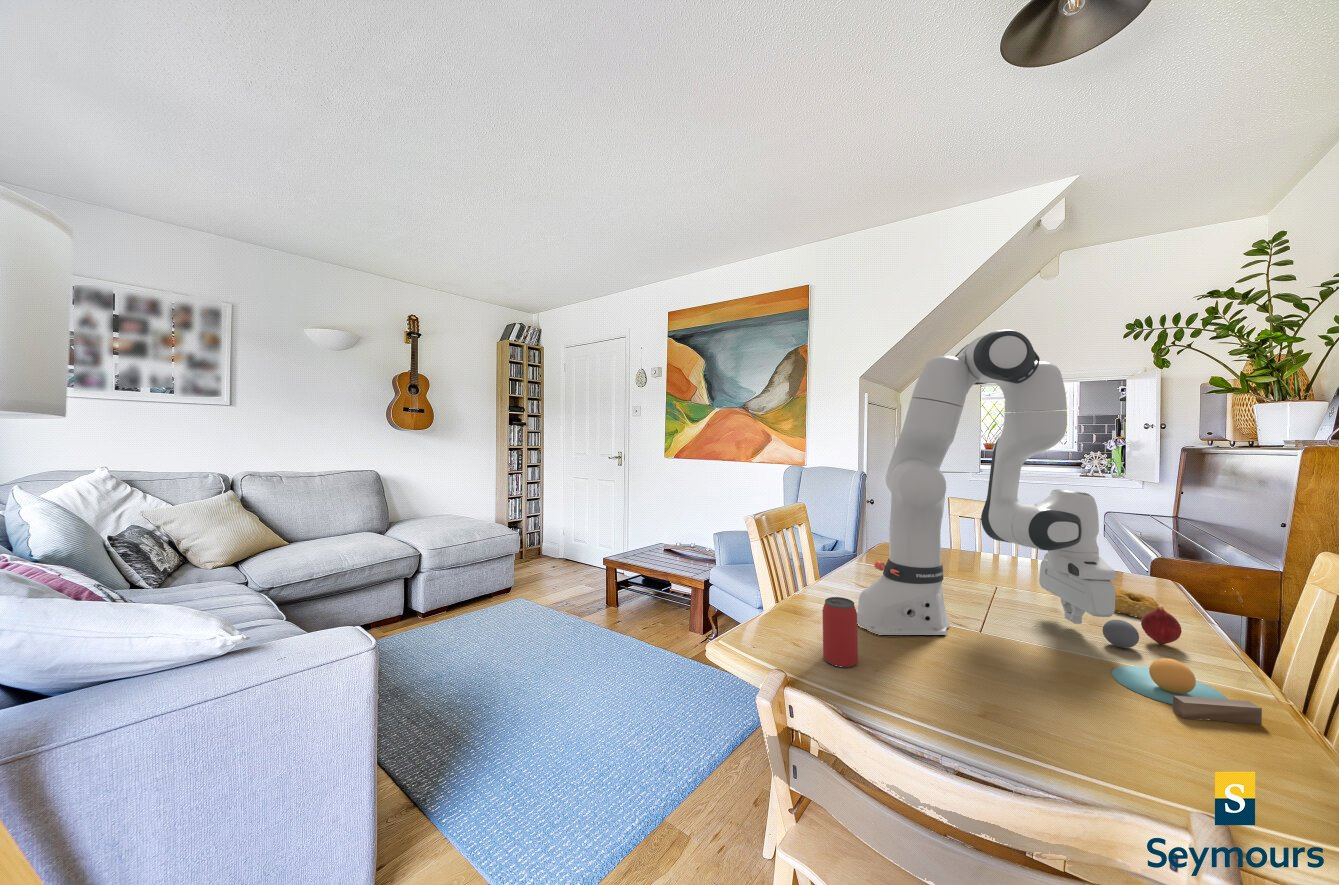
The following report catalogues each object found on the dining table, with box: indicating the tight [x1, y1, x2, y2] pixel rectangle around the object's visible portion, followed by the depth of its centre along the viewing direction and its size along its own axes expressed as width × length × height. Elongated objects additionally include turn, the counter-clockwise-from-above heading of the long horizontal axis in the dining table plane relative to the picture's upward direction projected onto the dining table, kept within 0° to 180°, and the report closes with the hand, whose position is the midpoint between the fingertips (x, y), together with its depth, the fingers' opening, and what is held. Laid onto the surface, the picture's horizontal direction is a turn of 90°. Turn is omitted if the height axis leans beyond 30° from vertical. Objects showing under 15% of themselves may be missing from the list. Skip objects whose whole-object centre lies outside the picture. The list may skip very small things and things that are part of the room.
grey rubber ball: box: [1102, 619, 1140, 649], centre depth 98 cm, size 6×6×6 cm
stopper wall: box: [1172, 696, 1263, 725], centre depth 74 cm, size 2×10×2 cm, turn 79°
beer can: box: [822, 596, 859, 668], centre depth 94 cm, size 7×7×12 cm
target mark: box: [1111, 665, 1228, 706], centre depth 83 cm, size 14×14×1 cm
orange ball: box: [1148, 657, 1197, 694], centre depth 81 cm, size 6×6×6 cm
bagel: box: [1114, 588, 1160, 619], centre depth 116 cm, size 10×11×5 cm
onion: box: [1140, 605, 1182, 646], centre depth 99 cm, size 6×6×8 cm
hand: (1073, 621), depth 107 cm, fingers closed
